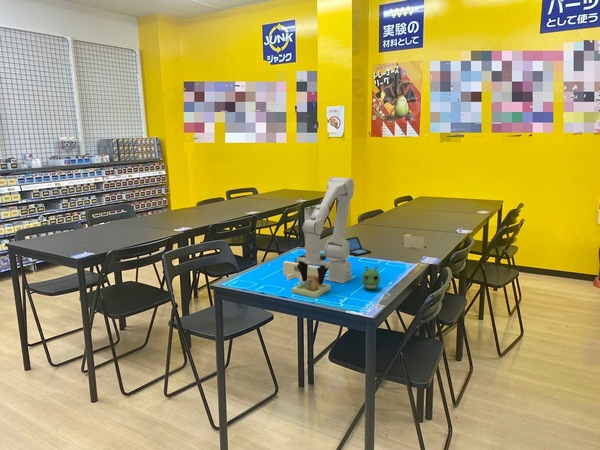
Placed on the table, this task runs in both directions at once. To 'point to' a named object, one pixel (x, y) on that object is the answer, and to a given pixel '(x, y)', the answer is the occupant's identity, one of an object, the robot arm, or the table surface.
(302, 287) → the tray
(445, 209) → the table surface
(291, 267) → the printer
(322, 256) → the disk drive
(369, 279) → the alien toy
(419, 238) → the model
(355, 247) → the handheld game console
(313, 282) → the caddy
